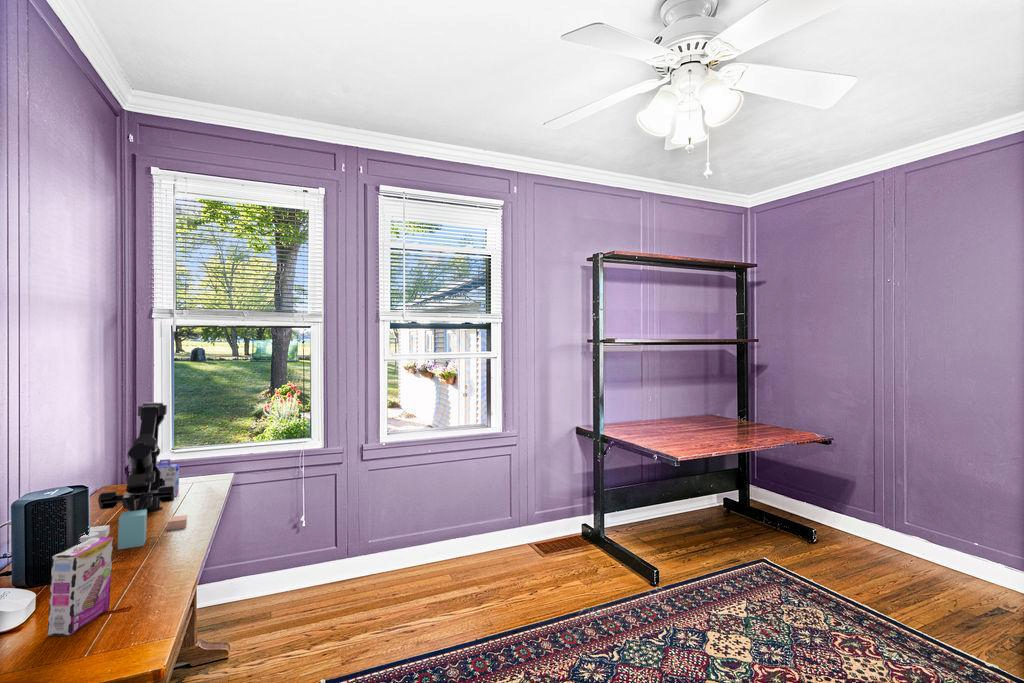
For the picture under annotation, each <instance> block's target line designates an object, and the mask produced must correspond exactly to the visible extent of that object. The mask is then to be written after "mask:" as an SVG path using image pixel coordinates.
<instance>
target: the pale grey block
mask: <svg viewBox="0 0 1024 683" xmlns="http://www.w3.org/2000/svg"><path fill="white" fill-rule="evenodd" d="M110 526H111V525H110V524H107V525H98V526H92V527H91V526H90V532H98V533H99V537H109V534H110Z"/></svg>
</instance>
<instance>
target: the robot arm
mask: <svg viewBox="0 0 1024 683" xmlns="http://www.w3.org/2000/svg"><path fill="white" fill-rule="evenodd" d="M167 411H168V405H167V404H164V402H163V401H162V402H159V401H157V402H156V401H155V402H143V404H142V405H138V406H137V416H138V417H140V420H141V421H140V422H141V423H140V428H139V435H138V437H137V438H136V439H134V440H133V443H132V447H130V448H129V449H128V452H127V459H128V460H129V466H130V475H127V480H126V488H125V491H126V492H125V493H122V494H120V495H119V494H117V490H113V491H104V492H103V491H102V492H101V493H100V494H99V495H98V498H97V500H98V501H97V503H98V505H99V509H100V510H101V511H102V510H110V509H114V508H116V507H117V506H118V503H122V509H123V510H127V512H129V511H137V510H145V509H147V514H149V513H153V512H156V511H158V510H163V509H164V508H163V506H161V503H163V504H164V503H171V502H174V501H175V497H174V487H173V486H172V485H171V486H165V480H164V479H163V477H161V471H160V470H159V469H158V467H157V466H158V465H157V463H158V457H159V456H160V455H161V448H160V447H159V430H160V428H159V427H160V425H161V424H162V423H163V421H164V420H165V416H166V415H167Z"/></svg>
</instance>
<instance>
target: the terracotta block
mask: <svg viewBox="0 0 1024 683" xmlns="http://www.w3.org/2000/svg"><path fill="white" fill-rule="evenodd" d="M187 524H188V515H186V514H185V515H177V516H170V517H168V520H167V526H166V528H167V529H166V530H167V531H170V530H178V529H185V528H187Z"/></svg>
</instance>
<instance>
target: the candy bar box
mask: <svg viewBox="0 0 1024 683" xmlns="http://www.w3.org/2000/svg"><path fill="white" fill-rule="evenodd" d="M79 543H80V542H79ZM77 544H78V543H77ZM77 544H76V545H74V546H71V547H70V548H67V549H65V550H63V551H61V552H59V553H57V554H55V555H53V556H51V559H52V560H51V571H50V572H51V573H50V574H51V575H50V588H49V589H50V591H49V601H48V602H49V604H48V605H49V606H48V620H47V621H48V624H47V636H48V637H49V636H51V637H52V636H53V637H54V636H58V637H59V636H63V637H64V636H66V637H67V636H71V635H73V634H75V633H76V632H77V631H79V630H80V629H81V628H84V627H85V626H86V625H87V624H89V623H90V622H92V621H93V620H94V619H96V618H98V617H99V616H100V615H102V614H104V613H105V612H106V611H108V610H109V609H110V600H111V583H112V582H111V581H112V565H113V548H114V546H113V545H114V537H111V536H110V537H109V536H107V537H99V538H90V539H88V540H86V541H84V542H82V543H80V544H78V545H77Z"/></svg>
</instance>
